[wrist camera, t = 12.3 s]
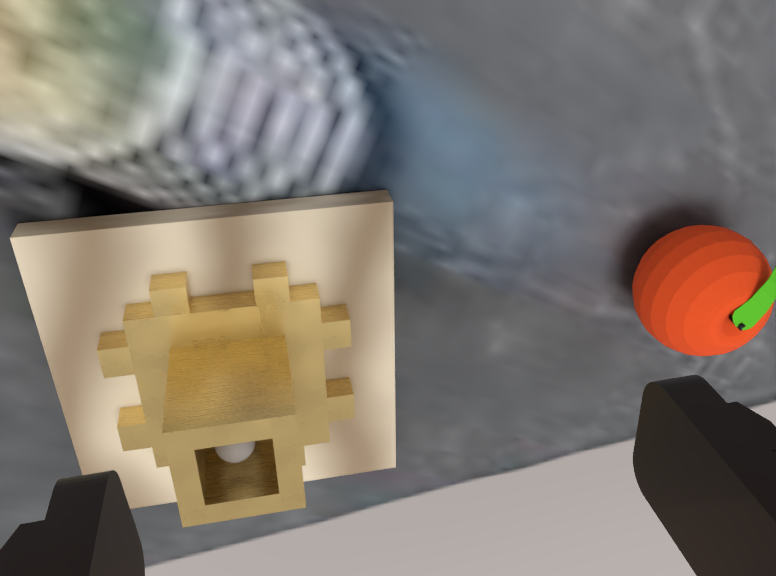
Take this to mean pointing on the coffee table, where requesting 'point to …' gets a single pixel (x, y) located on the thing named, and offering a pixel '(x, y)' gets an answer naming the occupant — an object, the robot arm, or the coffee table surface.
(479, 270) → the coffee table surface
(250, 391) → the gear
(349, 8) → the coffee table surface
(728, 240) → the clementine
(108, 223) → the carrier plate
